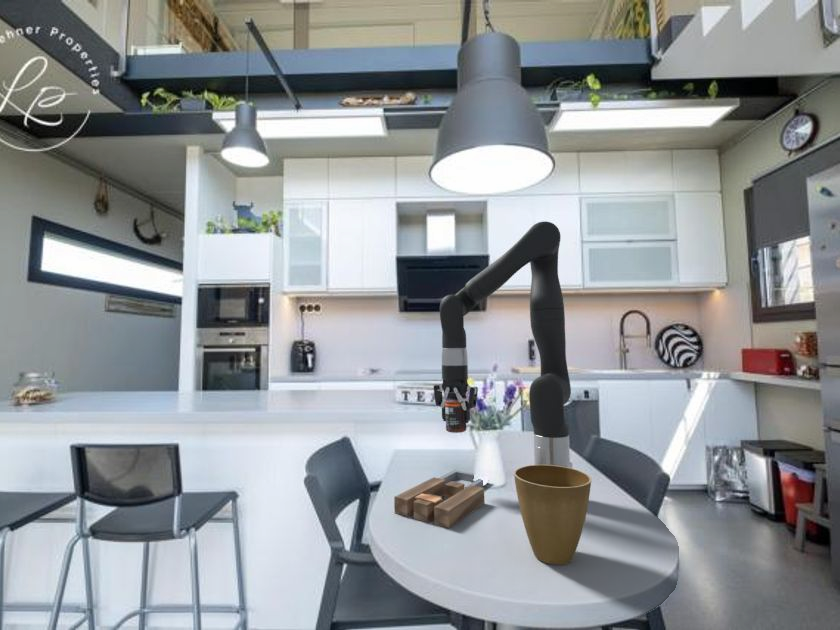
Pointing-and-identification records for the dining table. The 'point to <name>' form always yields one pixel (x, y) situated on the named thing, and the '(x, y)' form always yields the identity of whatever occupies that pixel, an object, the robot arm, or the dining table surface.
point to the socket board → (439, 501)
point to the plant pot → (553, 509)
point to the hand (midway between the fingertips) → (455, 421)
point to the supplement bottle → (454, 414)
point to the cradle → (462, 477)
